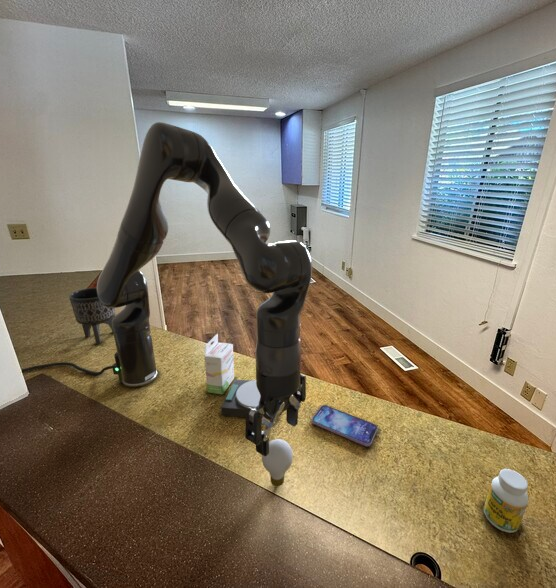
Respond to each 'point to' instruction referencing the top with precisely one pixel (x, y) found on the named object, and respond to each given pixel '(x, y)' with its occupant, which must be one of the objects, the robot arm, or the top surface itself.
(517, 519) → the supplement bottle
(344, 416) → the smartphone
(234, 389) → the kitchen scale
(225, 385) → the ink box
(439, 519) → the top surface
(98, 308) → the planter
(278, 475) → the light bulb
